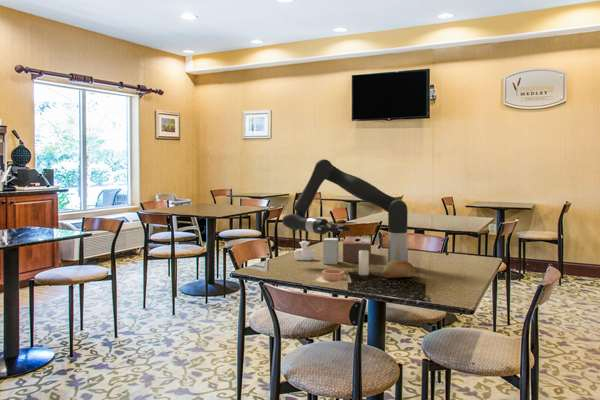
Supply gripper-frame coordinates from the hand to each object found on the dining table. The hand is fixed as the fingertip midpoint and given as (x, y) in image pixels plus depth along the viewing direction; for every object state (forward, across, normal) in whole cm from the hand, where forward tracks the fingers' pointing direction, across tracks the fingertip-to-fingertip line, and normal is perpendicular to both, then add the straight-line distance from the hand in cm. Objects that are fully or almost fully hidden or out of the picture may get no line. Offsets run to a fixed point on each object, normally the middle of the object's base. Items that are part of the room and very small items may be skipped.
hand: (343, 229), depth 224 cm
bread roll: (+24, +11, +20) cm, 33 cm away
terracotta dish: (+7, -15, +19) cm, 25 cm away
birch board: (+7, -15, +21) cm, 26 cm away
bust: (-36, +15, +22) cm, 45 cm away
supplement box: (-20, +17, +22) cm, 34 cm away
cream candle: (+12, 0, +20) cm, 24 cm away
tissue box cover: (-18, +38, +21) cm, 47 cm away
